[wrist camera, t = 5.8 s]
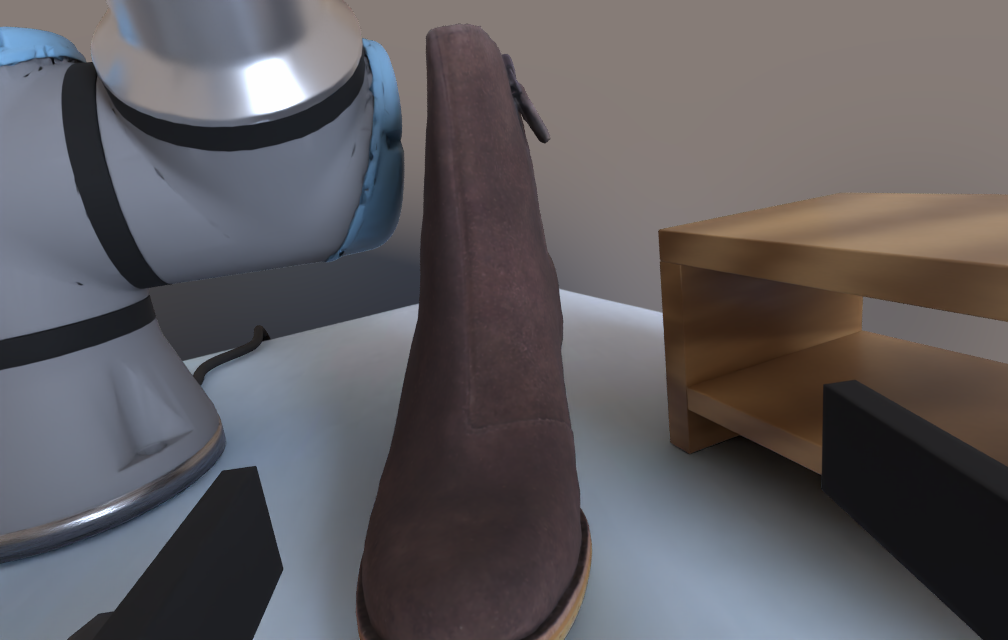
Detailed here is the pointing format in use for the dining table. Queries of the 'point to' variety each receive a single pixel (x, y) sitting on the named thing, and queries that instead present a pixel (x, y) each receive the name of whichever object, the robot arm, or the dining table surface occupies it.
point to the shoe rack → (830, 317)
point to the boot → (479, 388)
